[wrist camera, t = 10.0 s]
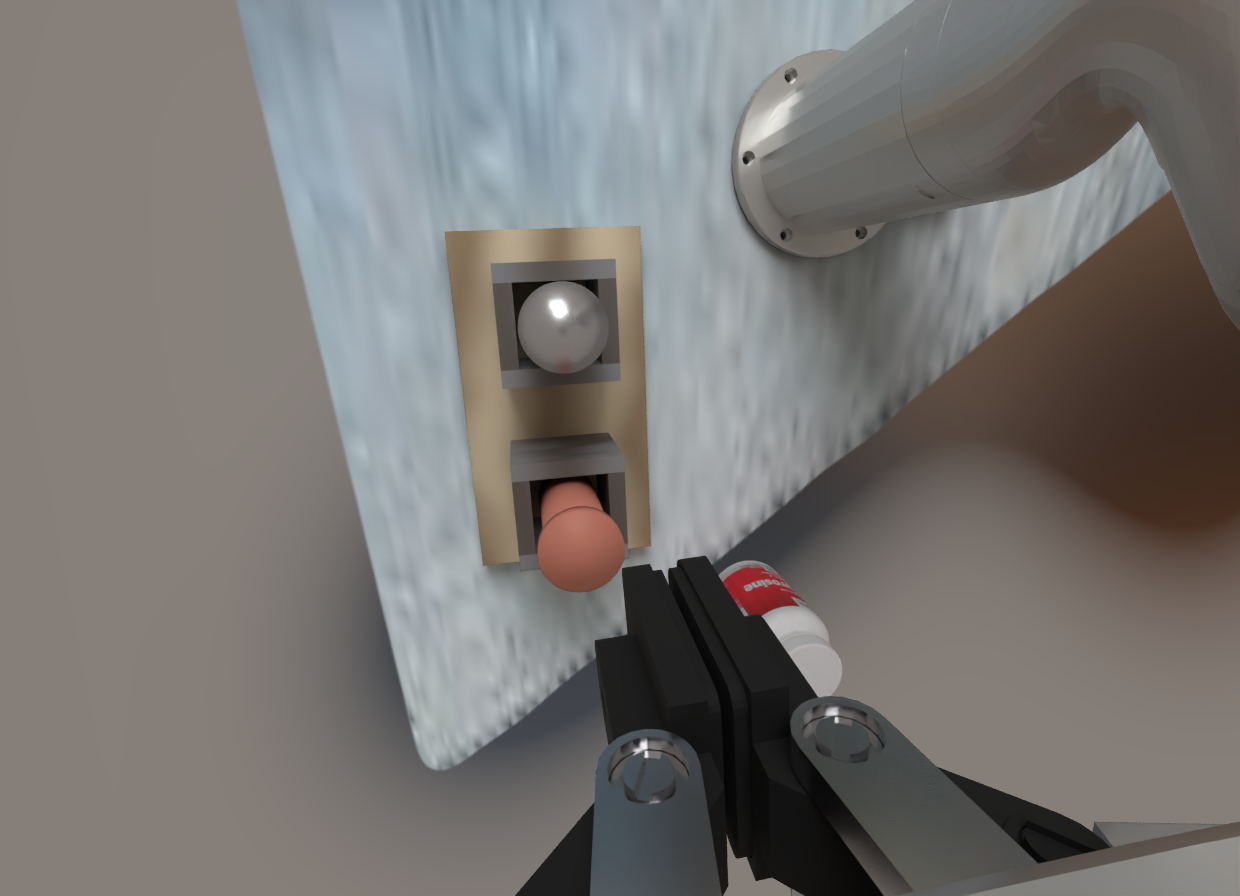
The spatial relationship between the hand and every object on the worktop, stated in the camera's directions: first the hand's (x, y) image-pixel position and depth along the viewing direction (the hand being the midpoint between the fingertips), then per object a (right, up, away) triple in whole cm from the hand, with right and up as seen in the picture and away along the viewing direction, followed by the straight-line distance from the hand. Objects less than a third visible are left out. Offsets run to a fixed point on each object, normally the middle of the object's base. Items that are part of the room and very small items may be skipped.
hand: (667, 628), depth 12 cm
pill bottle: (+9, -8, +36) cm, 38 cm away
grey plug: (-5, +12, +25) cm, 28 cm away
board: (-5, +7, +29) cm, 31 cm away
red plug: (-4, 0, +26) cm, 27 cm away
